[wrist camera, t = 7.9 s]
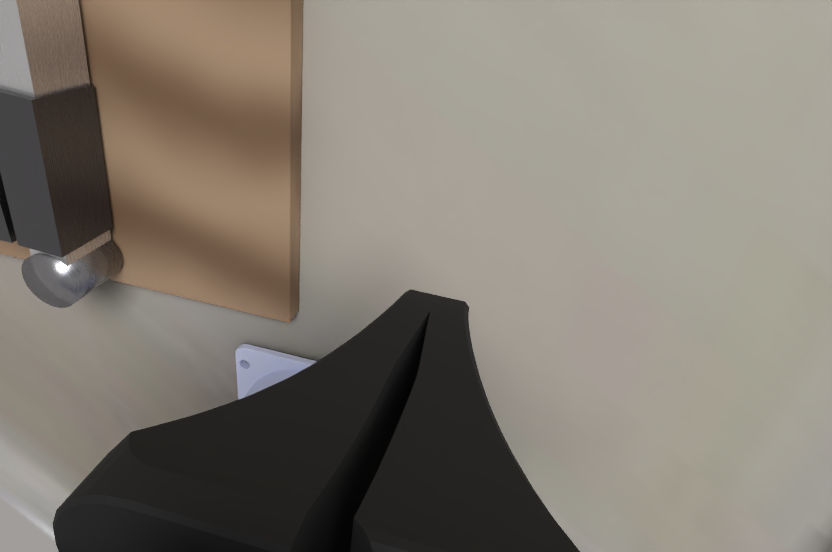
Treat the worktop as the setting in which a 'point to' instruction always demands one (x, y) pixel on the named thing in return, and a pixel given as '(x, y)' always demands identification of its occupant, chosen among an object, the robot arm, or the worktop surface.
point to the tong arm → (53, 151)
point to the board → (201, 146)
